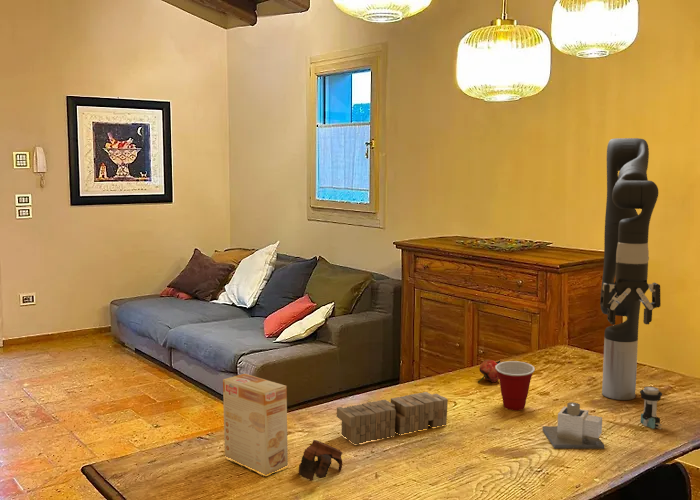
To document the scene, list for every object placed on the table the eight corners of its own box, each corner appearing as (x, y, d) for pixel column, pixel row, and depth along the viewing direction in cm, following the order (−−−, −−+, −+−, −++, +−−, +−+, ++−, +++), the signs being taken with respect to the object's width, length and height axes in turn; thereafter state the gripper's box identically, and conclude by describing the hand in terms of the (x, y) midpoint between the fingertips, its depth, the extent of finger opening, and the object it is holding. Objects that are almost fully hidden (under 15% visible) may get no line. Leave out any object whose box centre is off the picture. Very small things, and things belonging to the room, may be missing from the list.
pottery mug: (291, 470, 164) (305, 435, 166) (328, 485, 166) (342, 450, 168) (301, 478, 153) (316, 441, 154) (341, 494, 154) (355, 457, 156)
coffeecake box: (289, 468, 164) (287, 385, 161) (265, 478, 159) (263, 392, 156) (247, 450, 174) (245, 372, 171) (223, 459, 169) (221, 378, 166)
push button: (668, 429, 186) (670, 392, 185) (652, 432, 184) (654, 394, 183) (650, 420, 192) (651, 384, 191) (634, 423, 190) (635, 386, 189)
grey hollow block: (557, 436, 179) (557, 413, 178) (563, 429, 184) (564, 406, 183) (597, 444, 174) (598, 420, 173) (602, 436, 179) (603, 412, 178)
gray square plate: (542, 430, 186) (543, 396, 185) (589, 430, 186) (590, 396, 185) (554, 448, 174) (555, 412, 173) (604, 448, 174) (605, 412, 173)
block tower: (430, 420, 196) (335, 437, 182) (431, 390, 195) (335, 404, 182) (447, 430, 189) (349, 447, 176) (448, 399, 188) (350, 414, 175)
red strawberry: (488, 393, 223) (512, 372, 224) (473, 375, 222) (498, 354, 223) (480, 388, 230) (504, 368, 231) (466, 370, 229) (490, 350, 230)
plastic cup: (490, 411, 200) (491, 369, 199) (498, 399, 210) (499, 359, 209) (530, 416, 196) (531, 373, 195) (536, 403, 206) (537, 363, 205)
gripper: (654, 258, 184) (651, 320, 186) (598, 258, 184) (596, 320, 186) (666, 262, 176) (663, 327, 178) (608, 262, 176) (605, 327, 179)
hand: (629, 323), depth 182 cm, fingers open, 8 cm apart
